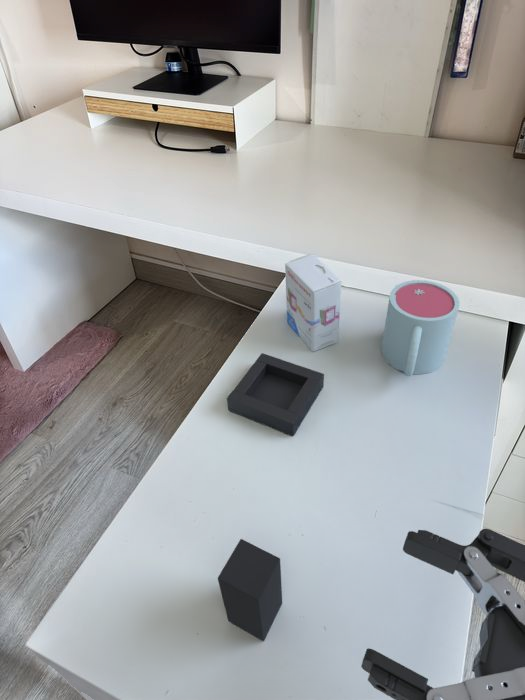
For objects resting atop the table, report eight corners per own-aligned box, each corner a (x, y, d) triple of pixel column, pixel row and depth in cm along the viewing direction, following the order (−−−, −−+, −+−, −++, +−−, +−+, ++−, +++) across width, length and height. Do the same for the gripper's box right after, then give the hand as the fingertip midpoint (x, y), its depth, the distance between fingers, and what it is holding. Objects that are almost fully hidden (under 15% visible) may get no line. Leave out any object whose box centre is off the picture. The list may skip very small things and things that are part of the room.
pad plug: (263, 642, 48) (258, 600, 41) (227, 621, 50) (217, 578, 43) (282, 603, 51) (280, 558, 44) (248, 584, 52) (240, 538, 45)
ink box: (284, 322, 83) (283, 260, 75) (310, 312, 84) (312, 251, 76) (312, 353, 77) (313, 290, 69) (339, 342, 78) (344, 279, 70)
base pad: (293, 436, 66) (293, 424, 64) (228, 410, 69) (226, 398, 67) (323, 386, 72) (324, 373, 70) (262, 365, 75) (261, 352, 74)
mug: (387, 327, 80) (395, 275, 74) (447, 339, 78) (462, 286, 71) (369, 387, 71) (377, 334, 64) (437, 403, 69) (453, 349, 62)
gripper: (699, 588, 30) (424, 481, 36) (722, 904, 21) (351, 689, 27) (640, 633, 35) (408, 532, 41) (639, 901, 26) (343, 721, 32)
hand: (386, 594), depth 34 cm, fingers open, 8 cm apart
